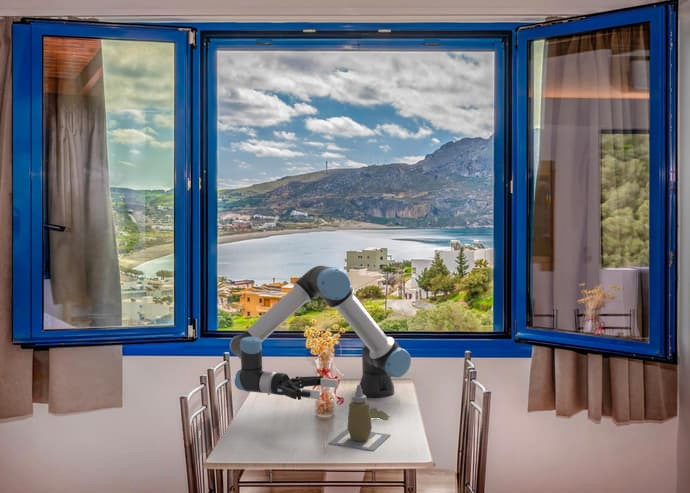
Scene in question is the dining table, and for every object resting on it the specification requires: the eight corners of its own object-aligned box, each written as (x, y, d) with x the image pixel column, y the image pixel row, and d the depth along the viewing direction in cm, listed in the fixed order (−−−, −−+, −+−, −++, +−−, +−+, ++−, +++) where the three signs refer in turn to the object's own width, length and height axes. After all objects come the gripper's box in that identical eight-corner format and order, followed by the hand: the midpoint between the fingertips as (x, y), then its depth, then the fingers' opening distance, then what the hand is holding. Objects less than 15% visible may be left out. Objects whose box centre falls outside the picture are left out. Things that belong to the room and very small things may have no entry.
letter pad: (347, 429, 210) (347, 428, 210) (390, 435, 203) (390, 434, 203) (328, 443, 197) (328, 443, 197) (373, 451, 190) (373, 450, 190)
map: (369, 428, 212) (369, 425, 212) (354, 412, 229) (354, 410, 229) (398, 425, 215) (398, 422, 215) (381, 409, 232) (381, 407, 232)
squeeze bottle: (366, 444, 195) (365, 389, 194) (343, 441, 198) (342, 387, 197) (375, 436, 202) (374, 383, 201) (353, 433, 205) (352, 381, 205)
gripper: (293, 384, 224) (344, 389, 215) (256, 404, 202) (311, 411, 193) (292, 364, 224) (344, 369, 215) (255, 382, 201) (311, 388, 192)
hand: (329, 389), depth 204 cm, fingers open, 13 cm apart
